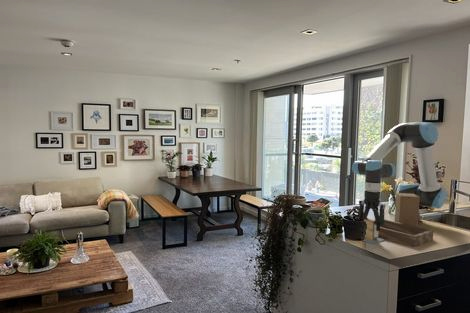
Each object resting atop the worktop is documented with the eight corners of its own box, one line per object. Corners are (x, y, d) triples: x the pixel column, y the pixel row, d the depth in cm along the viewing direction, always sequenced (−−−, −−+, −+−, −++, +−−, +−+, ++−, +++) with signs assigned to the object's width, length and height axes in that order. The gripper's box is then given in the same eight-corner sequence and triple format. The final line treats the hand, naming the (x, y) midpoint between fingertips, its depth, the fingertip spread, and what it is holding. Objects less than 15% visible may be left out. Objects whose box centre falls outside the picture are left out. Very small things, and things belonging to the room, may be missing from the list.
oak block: (368, 236, 177) (369, 217, 176) (377, 239, 173) (378, 219, 172) (362, 238, 174) (363, 219, 173) (371, 240, 170) (372, 221, 169)
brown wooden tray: (380, 226, 198) (380, 218, 198) (432, 240, 175) (433, 230, 175) (361, 231, 187) (361, 223, 187) (414, 246, 164) (415, 236, 163)
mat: (366, 235, 181) (366, 234, 181) (384, 240, 173) (384, 239, 173) (355, 238, 175) (355, 237, 175) (373, 244, 167) (373, 243, 167)
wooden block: (417, 232, 189) (419, 196, 188) (398, 230, 191) (400, 195, 190) (412, 227, 199) (414, 193, 197) (394, 226, 201) (395, 192, 199)
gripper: (352, 188, 177) (350, 231, 179) (385, 194, 162) (383, 241, 164) (360, 187, 182) (358, 229, 183) (394, 192, 167) (391, 238, 168)
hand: (370, 235), depth 174 cm, fingers open, 6 cm apart
